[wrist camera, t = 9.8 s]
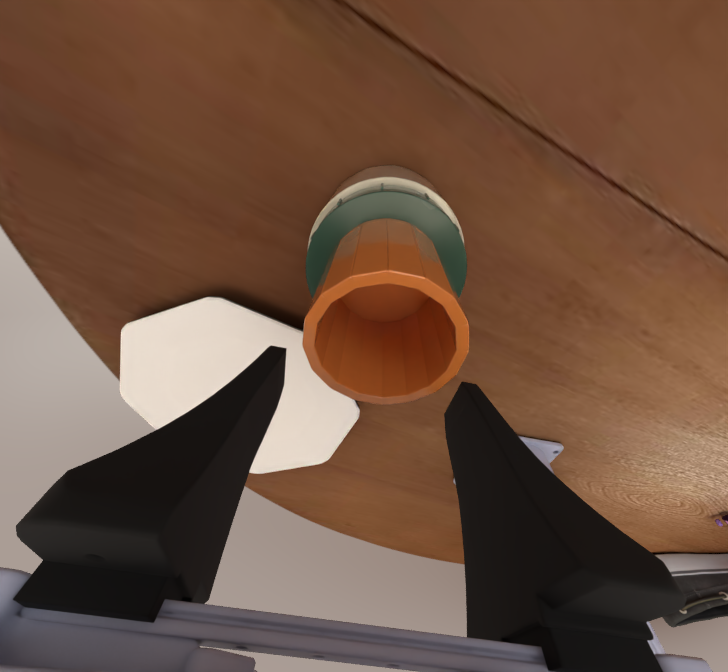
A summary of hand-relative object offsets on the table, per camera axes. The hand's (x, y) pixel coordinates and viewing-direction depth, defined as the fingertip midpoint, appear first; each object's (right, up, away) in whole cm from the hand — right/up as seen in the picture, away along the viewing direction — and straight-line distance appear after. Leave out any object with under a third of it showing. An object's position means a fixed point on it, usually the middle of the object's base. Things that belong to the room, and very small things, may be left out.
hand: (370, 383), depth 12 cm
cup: (+1, +5, +2) cm, 5 cm away
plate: (-11, -3, +15) cm, 19 cm away
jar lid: (+1, +5, +2) cm, 5 cm away
